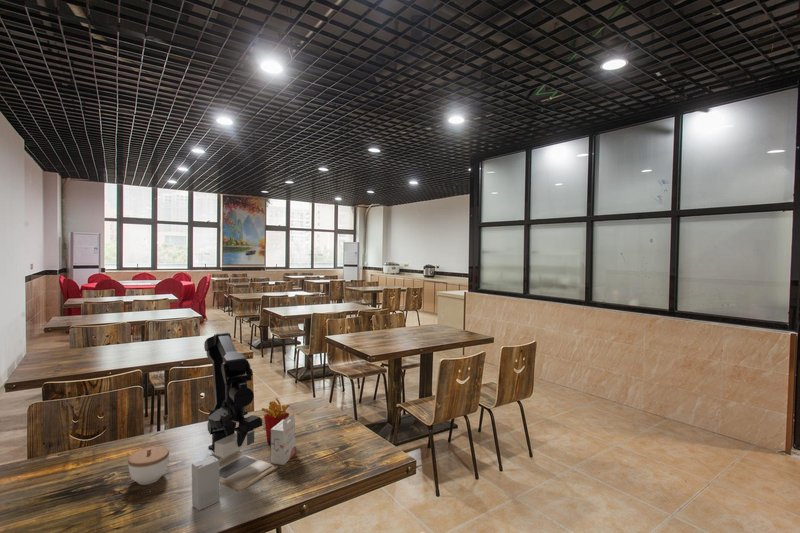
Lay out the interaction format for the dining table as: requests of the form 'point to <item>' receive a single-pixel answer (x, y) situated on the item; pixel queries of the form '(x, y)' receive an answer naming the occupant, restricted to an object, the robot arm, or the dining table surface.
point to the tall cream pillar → (232, 444)
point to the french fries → (274, 416)
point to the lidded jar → (148, 464)
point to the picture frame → (242, 470)
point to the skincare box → (205, 482)
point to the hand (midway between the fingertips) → (235, 444)
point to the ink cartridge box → (283, 441)
